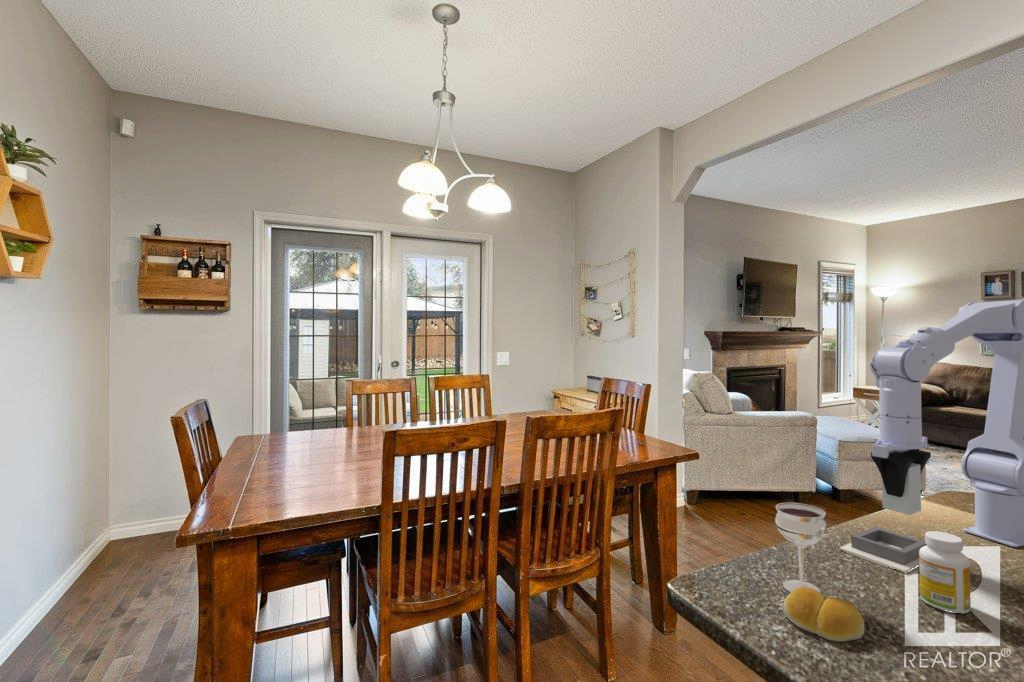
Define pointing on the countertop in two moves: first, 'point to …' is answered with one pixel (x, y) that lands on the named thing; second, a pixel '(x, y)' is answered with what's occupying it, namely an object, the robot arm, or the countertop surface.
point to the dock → (885, 548)
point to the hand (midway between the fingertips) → (901, 493)
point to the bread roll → (823, 615)
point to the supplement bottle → (944, 573)
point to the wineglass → (800, 533)
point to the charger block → (906, 493)
